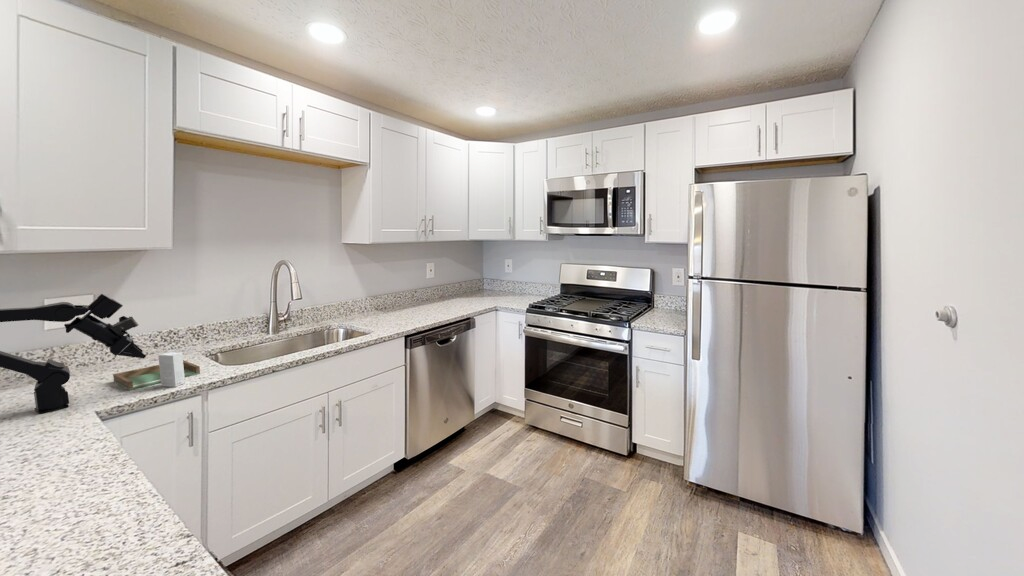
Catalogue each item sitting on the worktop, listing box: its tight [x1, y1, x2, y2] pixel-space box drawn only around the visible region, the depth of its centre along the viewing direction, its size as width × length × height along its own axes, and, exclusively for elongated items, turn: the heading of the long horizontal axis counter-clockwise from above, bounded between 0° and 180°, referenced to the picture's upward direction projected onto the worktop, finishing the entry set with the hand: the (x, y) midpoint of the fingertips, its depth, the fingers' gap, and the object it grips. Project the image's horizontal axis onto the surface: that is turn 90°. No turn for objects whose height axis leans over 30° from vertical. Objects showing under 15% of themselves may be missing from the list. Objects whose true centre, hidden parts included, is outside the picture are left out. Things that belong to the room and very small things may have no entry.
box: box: [112, 359, 201, 391], centre depth 163 cm, size 22×16×3 cm
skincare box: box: [158, 351, 186, 388], centre depth 155 cm, size 6×4×12 cm
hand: (143, 354), depth 148 cm, fingers open, 9 cm apart
